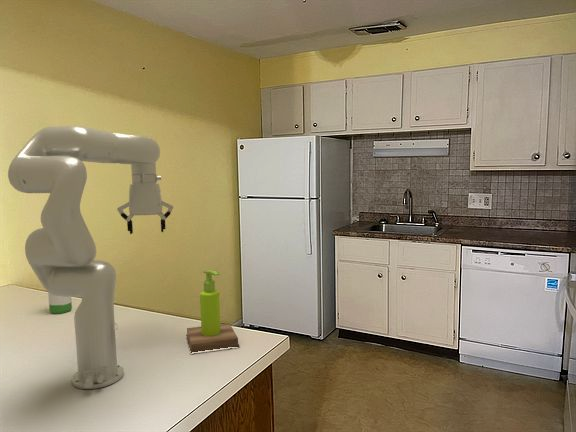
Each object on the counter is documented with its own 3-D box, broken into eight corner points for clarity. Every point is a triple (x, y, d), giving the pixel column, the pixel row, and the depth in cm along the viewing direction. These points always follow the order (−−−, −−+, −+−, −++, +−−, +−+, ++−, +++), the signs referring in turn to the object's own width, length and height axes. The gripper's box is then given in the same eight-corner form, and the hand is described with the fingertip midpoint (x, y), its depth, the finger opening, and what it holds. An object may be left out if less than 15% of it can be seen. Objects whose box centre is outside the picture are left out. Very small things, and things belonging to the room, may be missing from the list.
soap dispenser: (212, 338, 136) (210, 274, 134) (197, 333, 140) (195, 271, 138) (226, 332, 141) (224, 270, 139) (211, 328, 145) (209, 267, 143)
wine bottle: (52, 309, 176) (46, 234, 173) (73, 307, 178) (68, 233, 175) (47, 315, 169) (41, 237, 165) (70, 313, 171) (64, 235, 168)
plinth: (239, 347, 136) (239, 338, 136) (190, 354, 132) (190, 344, 132) (230, 331, 150) (230, 322, 150) (186, 336, 146) (185, 328, 145)
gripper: (171, 178, 149) (174, 229, 151) (116, 180, 145) (119, 232, 147) (172, 179, 142) (174, 232, 144) (114, 180, 137) (117, 235, 139)
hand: (147, 232), depth 145 cm, fingers open, 9 cm apart
